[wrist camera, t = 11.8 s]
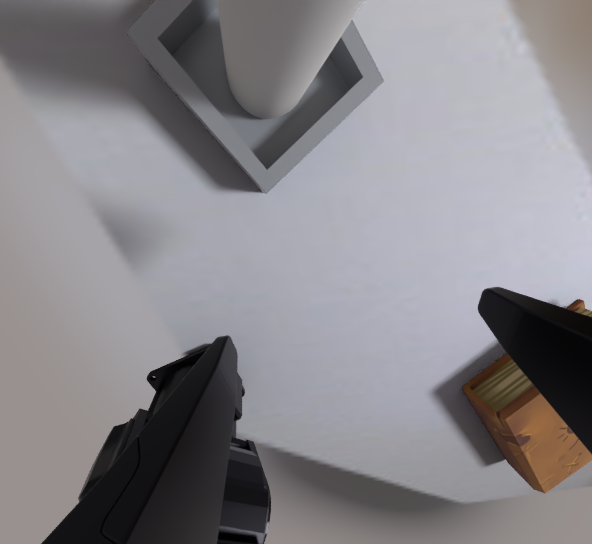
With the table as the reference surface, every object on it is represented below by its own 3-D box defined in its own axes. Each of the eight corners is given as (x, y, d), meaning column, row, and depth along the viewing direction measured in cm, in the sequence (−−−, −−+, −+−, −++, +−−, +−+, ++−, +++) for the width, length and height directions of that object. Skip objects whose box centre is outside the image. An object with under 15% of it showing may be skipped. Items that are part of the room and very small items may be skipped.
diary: (456, 384, 32) (499, 423, 26) (572, 297, 31) (641, 319, 26) (502, 457, 40) (542, 498, 35) (594, 390, 39) (649, 421, 34)
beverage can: (316, 74, 16) (501, -212, 4) (274, 139, 16) (344, 29, 5) (254, 7, 14) (304, -724, 3) (210, 83, 15) (108, -258, 3)
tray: (263, 192, 18) (266, 193, 15) (147, 62, 14) (125, 32, 12) (361, 98, 17) (384, 81, 15) (267, -66, 14) (274, -130, 11)
